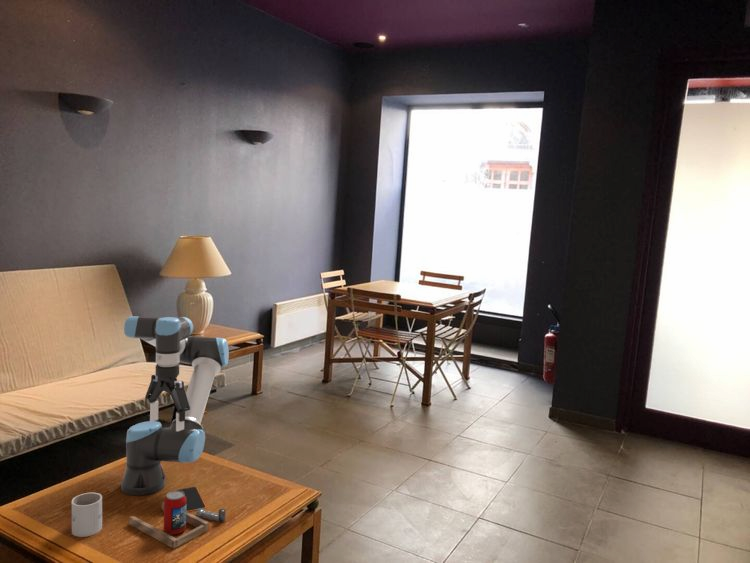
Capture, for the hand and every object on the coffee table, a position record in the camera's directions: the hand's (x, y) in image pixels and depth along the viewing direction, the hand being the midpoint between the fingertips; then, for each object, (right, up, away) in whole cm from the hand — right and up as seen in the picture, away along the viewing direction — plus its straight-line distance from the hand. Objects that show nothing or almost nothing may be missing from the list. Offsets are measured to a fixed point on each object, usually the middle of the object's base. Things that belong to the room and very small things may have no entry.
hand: (166, 425), depth 198 cm
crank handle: (+16, -30, -3) cm, 34 cm away
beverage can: (+7, -31, -11) cm, 33 cm away
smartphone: (+5, -29, +9) cm, 31 cm away
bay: (+4, -30, -10) cm, 32 cm away
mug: (-21, -29, -11) cm, 38 cm away
